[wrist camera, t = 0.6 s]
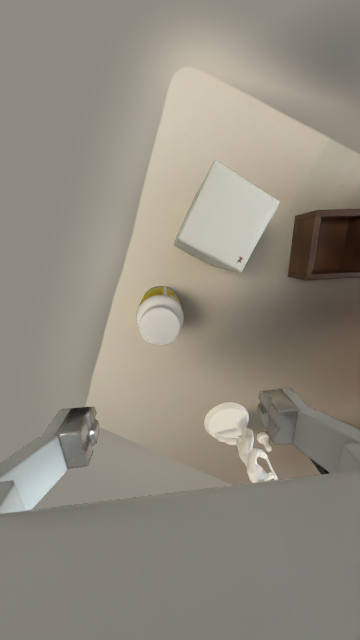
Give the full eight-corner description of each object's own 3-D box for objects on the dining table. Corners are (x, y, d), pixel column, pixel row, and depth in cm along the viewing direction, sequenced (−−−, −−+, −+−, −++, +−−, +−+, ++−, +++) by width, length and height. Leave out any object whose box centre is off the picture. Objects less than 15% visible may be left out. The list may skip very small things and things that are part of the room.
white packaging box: (237, 221, 31) (284, 202, 19) (213, 267, 33) (241, 275, 21) (194, 195, 29) (215, 155, 17) (171, 244, 31) (176, 239, 19)
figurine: (254, 429, 44) (312, 540, 27) (214, 445, 45) (246, 564, 28) (240, 395, 41) (295, 497, 24) (197, 413, 42) (220, 525, 24)
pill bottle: (138, 317, 34) (127, 346, 24) (145, 281, 32) (137, 295, 22) (174, 325, 35) (179, 356, 25) (183, 290, 33) (192, 307, 23)
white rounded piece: (260, 430, 44) (268, 444, 41) (270, 433, 45) (278, 448, 42) (254, 438, 45) (261, 453, 42) (263, 442, 45) (271, 456, 42)
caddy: (295, 215, 31) (316, 210, 27) (401, 212, 32) (439, 206, 28) (287, 276, 34) (305, 280, 30) (385, 271, 35) (417, 274, 31)
